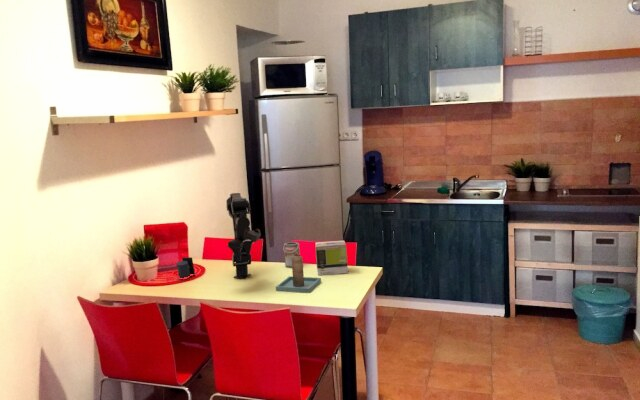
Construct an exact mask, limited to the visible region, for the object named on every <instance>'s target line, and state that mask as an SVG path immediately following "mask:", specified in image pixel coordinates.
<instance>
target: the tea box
mask: <svg viewBox="0 0 640 400" xmlns="http://www.w3.org/2000/svg"><path fill="white" fill-rule="evenodd" d="M347 250H348V249H347V244H346V242H345V240H331V241H318V242H317V241H316V242H315V259H316V270H317V271H316V272H317V276H322V275H323V276H325V275H336V274H349V271H348V270H349V269H348V266H349V265H348V253H347Z"/></svg>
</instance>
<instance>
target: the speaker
mask: <svg viewBox="0 0 640 400" xmlns="http://www.w3.org/2000/svg"><path fill="white" fill-rule="evenodd" d="M181 259H182V260H180V261H178V262H176V268H177V273H178V278H179V277H180V278H184V277H188V276H190V274H195V275H196V272H195V267H194V262H193V261H194V260H193V257H187V256H186V257H182V258H181Z"/></svg>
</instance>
